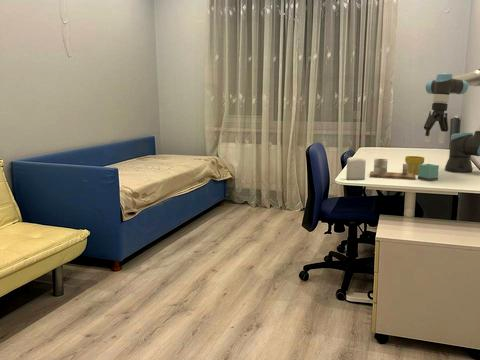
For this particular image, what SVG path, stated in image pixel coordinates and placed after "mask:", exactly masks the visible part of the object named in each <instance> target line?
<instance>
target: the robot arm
mask: <svg viewBox="0 0 480 360" xmlns="http://www.w3.org/2000/svg"><path fill="white" fill-rule="evenodd" d="M469 87H480V68H478V69H473V70H472V71H471V72H469V73H464V74H459V75H455V76H453V74H452V73H448V72H439V73H437V75H436V78H435V79H432V80H428V81H427V82H426V84H425V90H426V93H427V94H430V95H433V97H432V98H433V99H432V104H431V110H430V111H429V113H428V116H427V119H426V121H425V122H424V125H423V129H424V130H425V136H424V143H431V139H432V132H433V130H432V128H433V127H434V126H435V124H436V122H438V124H439V125H438V126H439V128H440V131H439V136H438V141H437V144H443V145H444V143H445V137H446V133H447V132H448V131H449V124H448V123H449V122H448V120H449V119H448V113H447V110H448V105H449V104H448V103H449V100H450V99H449V98H450V95H451V94H452V95H453V94H456V95H464V94H465V93H466V92H468V89H469ZM471 156H474V157H480V126H479V127H478V129H475V131H474V133H473V132H459V133H453V134H452V135H450V143H449V154H448V159H447V161H446V164H445V166H444V171H446V172H451V173H459V174H460V173H461V174H462V173H463V174H465V173H466V174H467V173H468V174H469V173H473V170H474V168H473V164H472V160H471Z"/></svg>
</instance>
